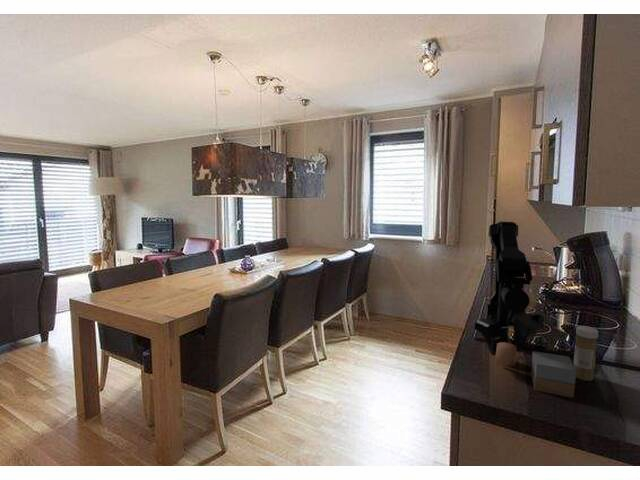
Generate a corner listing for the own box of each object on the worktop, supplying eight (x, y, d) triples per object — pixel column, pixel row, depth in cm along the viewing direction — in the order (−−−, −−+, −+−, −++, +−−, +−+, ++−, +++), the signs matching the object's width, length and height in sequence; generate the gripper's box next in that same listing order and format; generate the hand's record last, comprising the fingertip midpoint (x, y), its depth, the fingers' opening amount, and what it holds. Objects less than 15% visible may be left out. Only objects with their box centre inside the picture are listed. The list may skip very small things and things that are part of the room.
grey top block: (531, 363, 94) (532, 350, 94) (567, 369, 91) (568, 356, 90) (535, 377, 87) (536, 363, 86) (575, 384, 83) (576, 370, 83)
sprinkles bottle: (596, 378, 92) (601, 329, 91) (588, 383, 90) (593, 332, 88) (576, 371, 96) (581, 323, 95) (568, 375, 94) (573, 327, 92)
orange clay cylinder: (495, 357, 105) (497, 341, 104) (515, 360, 102) (516, 344, 102) (495, 364, 100) (496, 347, 100) (515, 368, 98) (516, 351, 97)
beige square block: (531, 376, 94) (532, 363, 94) (567, 383, 91) (568, 370, 90) (534, 390, 87) (535, 377, 87) (573, 399, 83) (574, 385, 83)
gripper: (506, 312, 89) (502, 371, 91) (561, 305, 94) (556, 360, 96) (474, 300, 99) (471, 352, 101) (526, 294, 105) (522, 344, 107)
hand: (506, 353), depth 101 cm, fingers open, 9 cm apart
